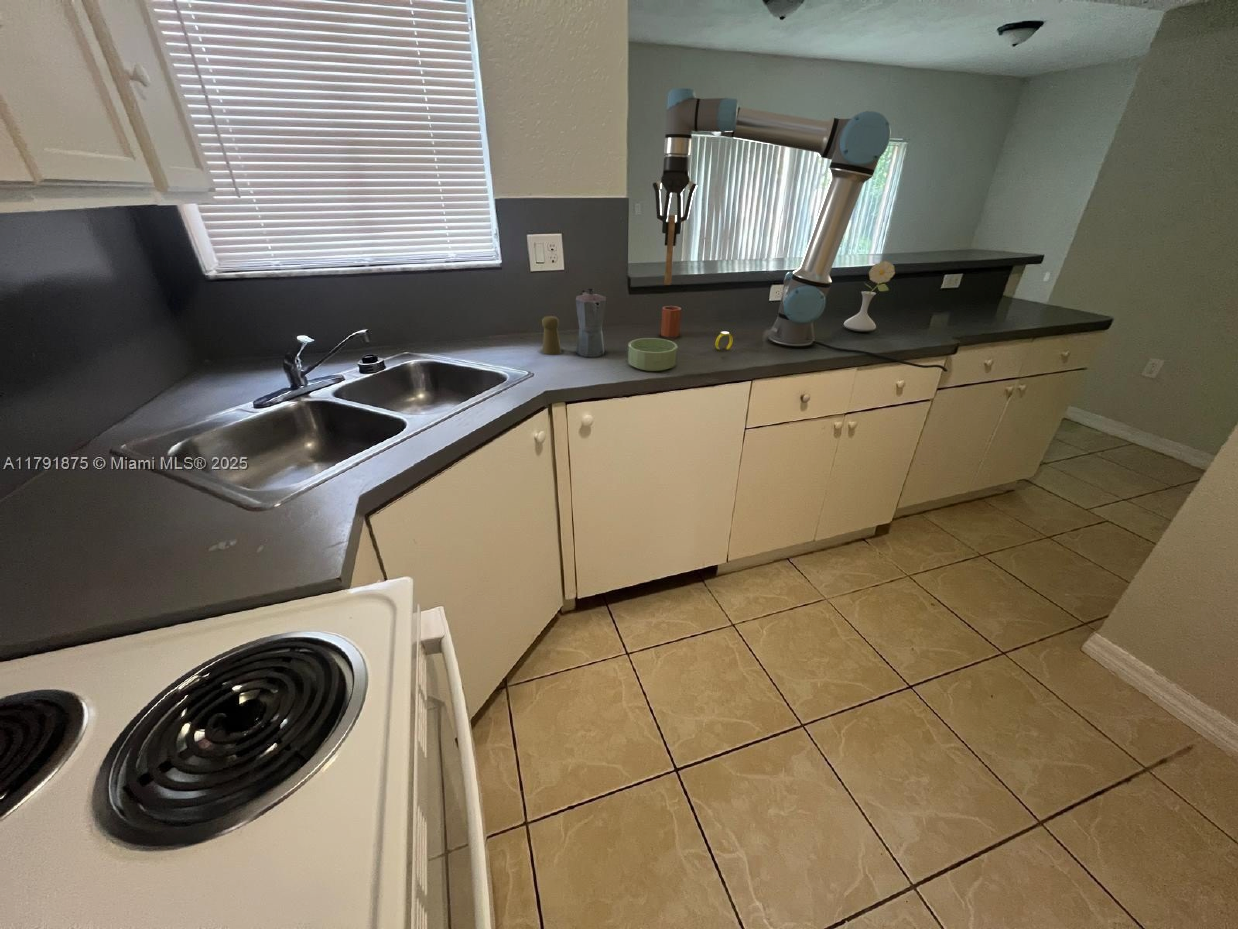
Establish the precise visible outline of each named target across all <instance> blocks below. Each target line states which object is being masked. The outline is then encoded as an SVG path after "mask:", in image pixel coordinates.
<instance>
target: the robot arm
mask: <svg viewBox="0 0 1238 929" xmlns="http://www.w3.org/2000/svg"><path fill="white" fill-rule="evenodd" d="M665 112H666V113H665V114H666V115H665V132H664V134H665V136H664V146H663V147H664V149H663V153H664V155H665V156H664V157H663V165H662V166H663V167H662V175H661V177H660V179H659V180H657V181H655V182H653V183H652V187H653V190H654V195H655V209H656V211H655V212H656V219H657V220H659V221H661V222H662V224H661V226H662V227H661V233H662V234H664V246H666V247H667V240H668V225H669V213H670V206H671V200H672V195H673V194H674V193H675V194H676V213H677V214H676V222H675V227H674V241H673V246H674V247H676V246H677V245H678V244H677V243H678V235H680V234H681V233H682V225H683V222H685V221H687V220H688V219H689V217H690V216H689V215H690V211H691V206H692V202H693V198H694V193H695V191H696V190H697V188H698V184H697V183H694V182H693V181H691V178H690V162H691V159H690V157H689V156H690V155H691V150H692V135H693V132H695V133H698V132H700V133H701V132H702V133H710V135H712V136H714V137H718V138H720V137H724V138H730V139H738V140H744V141H748V142H755V143H761V144H767V145H770V146H771V145H772V146H778V147H783V148H787V149H788V148H790V149H795V150H800V151H805V152H806V151H807V152H810V153H811V152H812V153H817V155H818V156H819V158H822V159H828V160H831V161H830V163H829V167H828V171H829V174H830V177H831V178H830V181H829V184H828V187H827V189H826V192H825V195H824V197H823V201H822V204H821V206H820V210H819V213H818V216H817V219H816V221H815V223H814V226H813V229H812V233H811V236H810V238H809V241H808V244H807V246H806V250H805V253H804V256H803V259H802V262H801V264H800V267H799V268H798V269H796V270H794V271H788V272H787V273H786V274H785V277H784V279H783V285H782V286H783V287H782V292H781V297H780V302H779V308H778V313H777V316H776V317H777V318H776V320H775V322H774V324H773V326H772V327H771V329H770V331H769V334H768V337H767V340H768V342H769V343H771V344H773V345H776V346H778V347H779V346H780V347H782V348H783V347H784V348H792V349H805V348H810V347H812V346H814V344H815V345H818V346H821V347H824V348H826V349H831V350H834V351H840V352H848V353H857V354H864V355H869V356H873V357H878V358H881V359H884V360H888V361H892V362H895V363H900V364H904V365H908V366H912V367H916V368H921V369H922V368H923V369H931V368H938V369H940V370H942V371H943V372H946V373H947V372H948V369H947V368H946V367H945V366H943V365H941V364H919V363H915V362H910V361H905V360H902V359H899V358H894V357H891V356H890V357H889V356H886V355H883V354H878V353H874V352H872V351H871V352H870V351H865V350H860V349H851V348H840V347H835V346H831V345H829V344H825V343H822V342H819V341H815V331H814V322H815V321H816V320H818V319H819V318H820V317H821V316H822V315H823V312H824V311H825V308H826V304H827V299H826V298H827V296H828V293H829V291H830V288H831V286H832V283H833V281H832V278H831V276H830V274H831V271H832V268H833V265H834V263H835V260H836V257H837V255H838V252H839V249H840V247H841V245H842V242H843V239H844V237H845V234H846V231H847V228H848V226H849V223H850V220H851V218H852V215H853V213H854V210H855V207H856V205H857V202H858V199H859V196H860V194H861V192H862V189H863V187H864V184H865V183H866V182H867V181H869V180H870V179H872V178H873V176H874V173H875V172H876V169H877V166H878V164H879V161H880V158H881V157H882V156H883V155H884V153H885V152H886V150H887V148H888V146H889V144H890V140H891V136H892V130H891V126H890V125H891V124H890V121H889V120H888V118H887V117H886V116H885V115H884V114H882V113H880V112H878V111H873V110H871V111H869V110H866V111H862V112H858V113H857V114H855V115H854V116H853V117H851V118H837V117H832V118H830V119H829V120H821V119H815V118H808V117H803V116H797V115H789V114H783V113H777V112H771V111H764V110H758V109H754V108H753V109H752V108H747V107H746V108H745V107H739V100H738V99H737V98H732V97H731V98H729V97H720V98H719V97H718V98H717V97H716V98H714V97H713V98H700V97H699V98H698V97H697V96H696V90H694V89H692V88H686V87H685V88H683V87H679V88H677V87H676V88H673V89H671V90H670V91H668V96H667V104H666V111H665ZM662 186H663V188H664V189H665V201H664V208H663V211H662V198H661V197H662V196H661V195H662V194H661V189H662ZM687 186H688V190H689V191H688V195H687V200H686V204H685V208H684V213H683V193H684V192H683V191H684V190H685V188H686V187H687Z"/></svg>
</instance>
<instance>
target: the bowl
mask: <svg viewBox="0 0 1238 929" xmlns="http://www.w3.org/2000/svg"><path fill="white" fill-rule="evenodd" d="M677 360H678V344H677V343H676V342H674V341H672V340H669V339H665V338H660V337H659V338H658V337H642V338H641V337H640V338H635V339H633V340H631V341H629V342H628V343H627V363H628V365H630V366H631V367H634V368H635V369H637V370H640V371H646V372H661V371H666V370H669V369H672V368H674V367H675V366H676V365H677Z"/></svg>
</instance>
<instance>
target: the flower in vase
mask: <svg viewBox="0 0 1238 929" xmlns="http://www.w3.org/2000/svg"><path fill="white" fill-rule="evenodd" d="M895 270H896V269H895V265H894V263H891V262H890V261H887V260H884V261H879V262H878V263H874V265H873V266H872V267H871V269H870V270H869V272H868V276H869V280H870V281H872V282H873V283H875V284H876V286H875V287H874V288H872V287H871V286H870V285H869V284H867V283H866V282H865V281H863V284H864V285H865V286H867V287H868V288H870V289H871V291H868V290H867V291H866V290H865V291H861V292H860V293H861V295H862V303H861V307H860V310H859V312H858V313H856V314H855V315H853V316H851V317H849V318H848V319H846V320H845V321H844V323H843V326H844V327H845V328H846V329H848V330H850V331H854V332H859V333H861V332H862V333H863V332H864V333H865V332H866V333H868V332H872V331H874V330H876V328H877V324H875V321H874V320H873V319H872V318H871V317H870V316H869V314H868V309H869V306H870V303H871V301H872V300H873V297H874V296H875V295H877V293H876V292H874V290H875V289H876V288H877V289H878V291H879V292H888V291H890V289H889V287H888V285H886V284H885V283H887V282H890V280H891V278H893V277H894V275H895V274H896V271H895Z"/></svg>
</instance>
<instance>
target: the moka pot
mask: <svg viewBox="0 0 1238 929" xmlns="http://www.w3.org/2000/svg"><path fill="white" fill-rule="evenodd" d="M587 291H588V292H586V291H585V290H584V289H581V293H580V295H576V297H575V308H576V315H577V322H578V328H579V329H578V335H577V336H578V337H577V342H576V353H577V354H578V355H579V356H580V357H585V358H598V357H601V356H603V355H604V354H605V351H606V350H605V342H604V335H603V324H604V316H605V308H606V301H607V300H606V296H604V295H600V294H597V293H594V288H587Z"/></svg>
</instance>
